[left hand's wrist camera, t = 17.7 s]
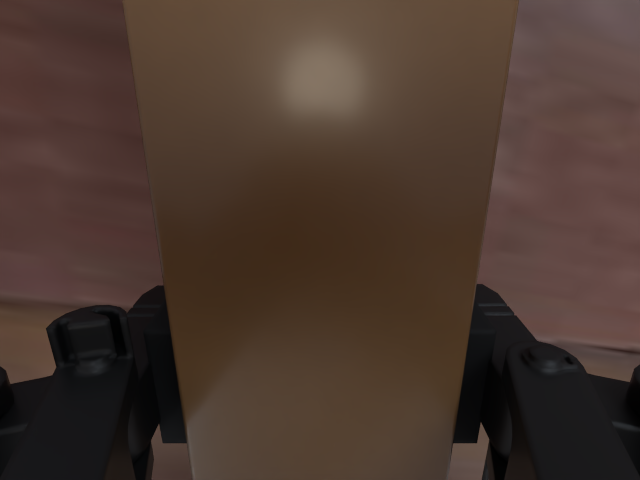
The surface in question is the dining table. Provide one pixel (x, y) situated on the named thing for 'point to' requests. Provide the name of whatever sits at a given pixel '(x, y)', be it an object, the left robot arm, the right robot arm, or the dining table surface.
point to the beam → (320, 222)
